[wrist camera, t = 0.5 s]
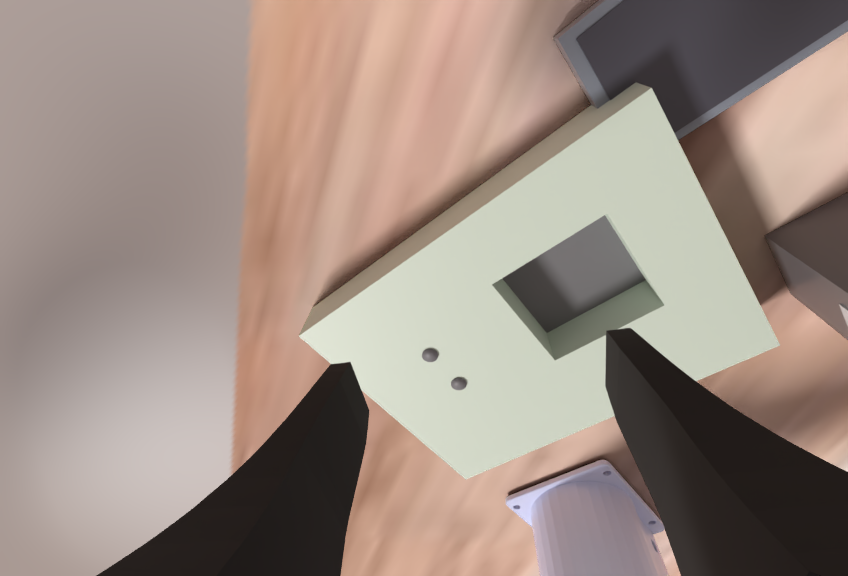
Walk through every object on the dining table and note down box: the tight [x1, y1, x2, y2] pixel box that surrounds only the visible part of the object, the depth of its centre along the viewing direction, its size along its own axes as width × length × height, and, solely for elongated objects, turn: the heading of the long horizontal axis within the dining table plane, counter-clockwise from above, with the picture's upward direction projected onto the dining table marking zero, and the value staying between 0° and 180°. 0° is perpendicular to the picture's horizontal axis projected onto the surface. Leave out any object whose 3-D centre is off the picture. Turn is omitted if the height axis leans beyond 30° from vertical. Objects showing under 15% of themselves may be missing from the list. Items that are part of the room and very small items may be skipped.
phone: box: [553, 0, 848, 140], centre depth 15 cm, size 6×11×1 cm, turn 129°
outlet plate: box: [299, 83, 780, 479], centre depth 22 cm, size 14×18×3 cm
